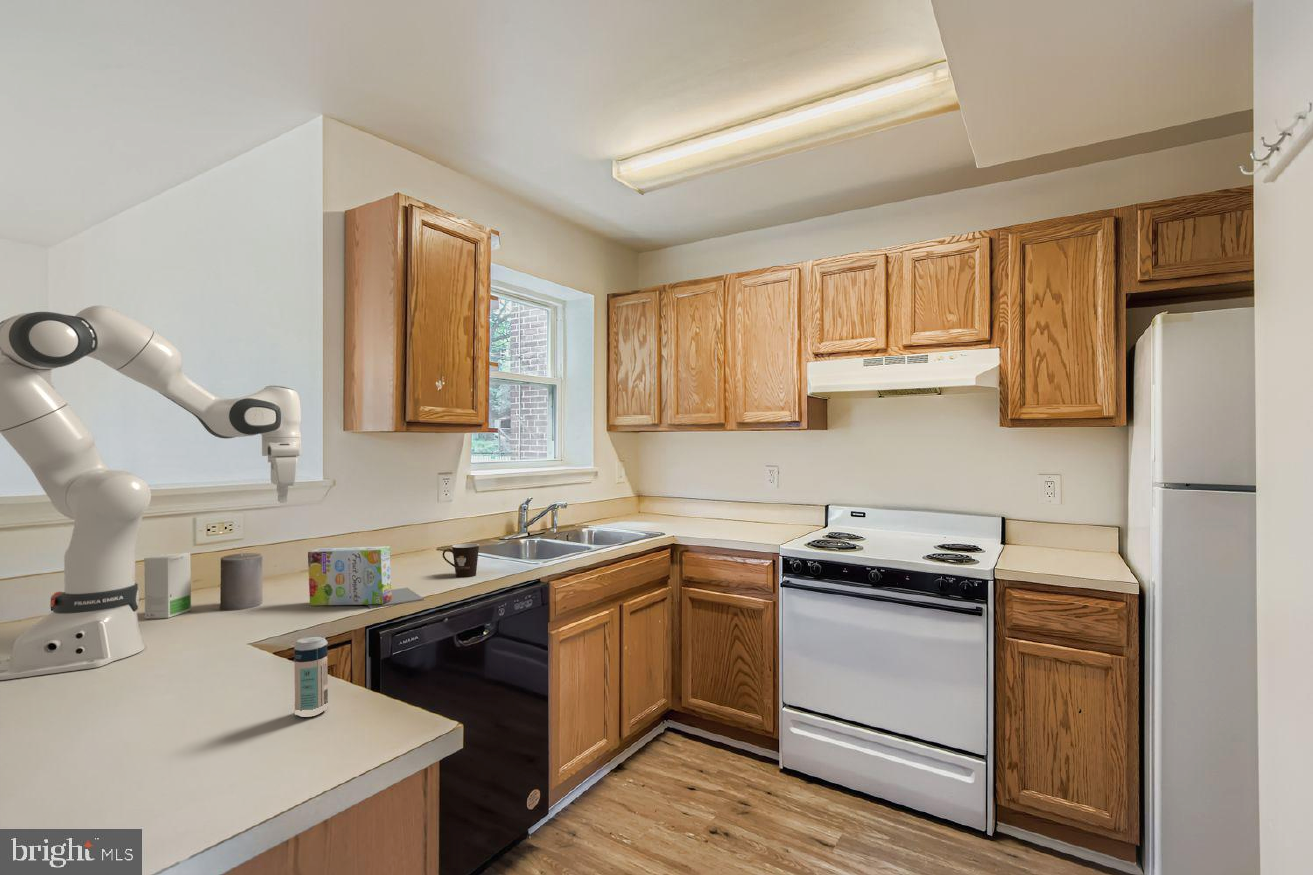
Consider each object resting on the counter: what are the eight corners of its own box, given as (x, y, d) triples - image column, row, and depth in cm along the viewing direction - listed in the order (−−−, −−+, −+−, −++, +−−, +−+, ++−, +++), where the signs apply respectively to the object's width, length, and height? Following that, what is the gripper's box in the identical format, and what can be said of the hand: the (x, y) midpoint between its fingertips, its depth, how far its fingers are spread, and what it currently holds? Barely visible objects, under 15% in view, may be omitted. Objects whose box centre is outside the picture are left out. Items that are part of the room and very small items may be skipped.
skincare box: (168, 618, 156) (167, 557, 156) (142, 619, 156) (141, 558, 156) (192, 610, 164) (192, 551, 164) (168, 610, 164) (167, 552, 164)
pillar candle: (212, 607, 166) (212, 552, 166) (250, 599, 175) (250, 547, 175) (232, 612, 162) (232, 555, 162) (270, 603, 170) (270, 549, 170)
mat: (370, 608, 163) (370, 606, 163) (356, 596, 177) (356, 594, 177) (423, 599, 172) (423, 598, 172) (407, 588, 185) (407, 587, 185)
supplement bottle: (321, 704, 103) (320, 632, 103) (333, 711, 99) (332, 637, 100) (289, 714, 99) (288, 639, 99) (301, 722, 96) (300, 645, 96)
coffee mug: (485, 574, 204) (484, 544, 205) (464, 579, 197) (464, 548, 197) (461, 570, 211) (461, 541, 211) (440, 575, 203) (440, 545, 203)
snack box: (393, 599, 170) (390, 545, 170) (382, 605, 164) (379, 549, 164) (321, 600, 172) (319, 547, 172) (308, 606, 166) (305, 551, 166)
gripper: (264, 449, 165) (264, 500, 165) (271, 449, 149) (272, 506, 149) (291, 448, 169) (291, 498, 169) (301, 448, 153) (301, 504, 153)
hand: (282, 502), depth 159 cm, fingers closed
